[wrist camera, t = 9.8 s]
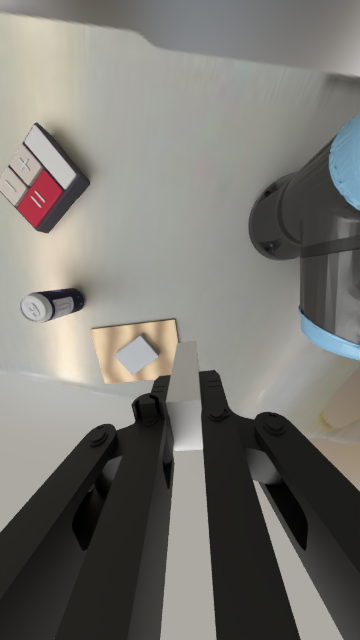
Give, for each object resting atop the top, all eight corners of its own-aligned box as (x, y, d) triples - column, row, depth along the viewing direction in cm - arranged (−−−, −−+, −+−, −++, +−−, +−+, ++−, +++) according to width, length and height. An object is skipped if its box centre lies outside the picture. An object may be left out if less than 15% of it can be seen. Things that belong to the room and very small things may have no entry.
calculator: (-10, 184, 34) (31, 116, 30) (12, 193, 38) (51, 135, 34) (34, 231, 36) (77, 173, 32) (50, 235, 40) (91, 183, 36)
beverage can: (78, 284, 41) (35, 288, 30) (90, 305, 43) (53, 317, 31) (59, 293, 42) (11, 300, 31) (71, 314, 43) (29, 328, 32)
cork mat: (174, 319, 42) (174, 319, 42) (183, 375, 46) (183, 376, 46) (91, 329, 44) (90, 329, 44) (106, 382, 48) (105, 383, 48)
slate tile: (140, 335, 41) (114, 355, 43) (158, 356, 43) (132, 375, 44) (142, 333, 43) (116, 352, 45) (159, 353, 44) (134, 371, 46)
